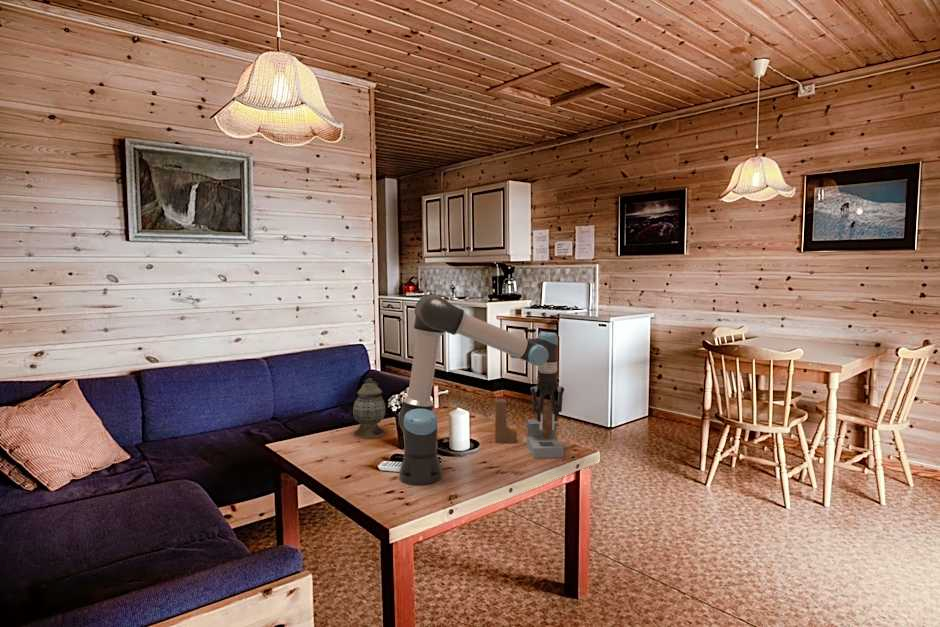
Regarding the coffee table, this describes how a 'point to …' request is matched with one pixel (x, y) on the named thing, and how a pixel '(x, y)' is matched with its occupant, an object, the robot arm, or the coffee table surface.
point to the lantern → (369, 410)
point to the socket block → (543, 442)
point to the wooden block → (503, 424)
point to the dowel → (547, 419)
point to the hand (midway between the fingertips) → (546, 429)
